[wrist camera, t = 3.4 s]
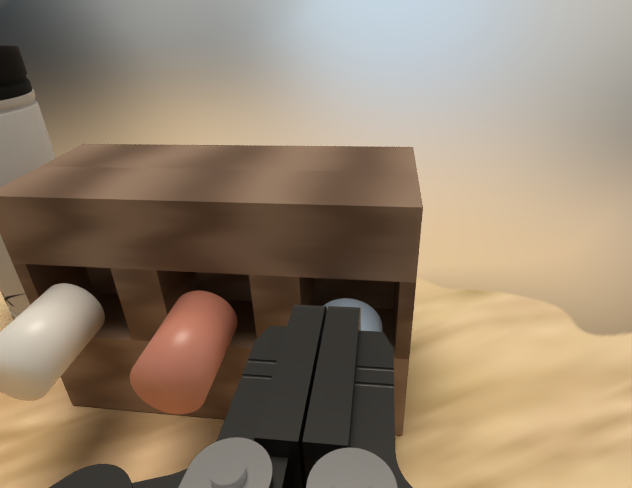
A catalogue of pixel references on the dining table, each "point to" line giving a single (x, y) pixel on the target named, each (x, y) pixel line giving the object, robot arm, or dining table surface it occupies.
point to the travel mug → (18, 152)
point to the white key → (47, 340)
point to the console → (216, 246)
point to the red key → (185, 353)
